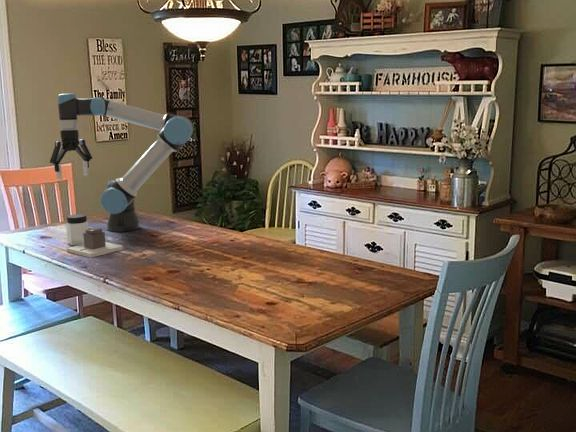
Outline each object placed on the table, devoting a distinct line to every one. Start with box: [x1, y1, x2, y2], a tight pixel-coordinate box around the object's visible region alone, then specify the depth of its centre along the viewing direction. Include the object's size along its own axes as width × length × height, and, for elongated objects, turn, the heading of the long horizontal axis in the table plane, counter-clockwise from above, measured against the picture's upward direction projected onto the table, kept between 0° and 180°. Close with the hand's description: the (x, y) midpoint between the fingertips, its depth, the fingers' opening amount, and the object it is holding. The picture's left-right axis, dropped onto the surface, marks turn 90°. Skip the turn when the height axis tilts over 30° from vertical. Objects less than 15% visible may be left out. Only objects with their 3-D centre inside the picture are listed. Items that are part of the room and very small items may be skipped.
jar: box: [65, 213, 89, 246], centre depth 281 cm, size 9×8×12 cm
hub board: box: [66, 241, 124, 258], centre depth 269 cm, size 16×16×7 cm
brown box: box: [83, 226, 106, 249], centre depth 268 cm, size 7×7×8 cm
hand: (72, 177), depth 291 cm, fingers open, 13 cm apart
